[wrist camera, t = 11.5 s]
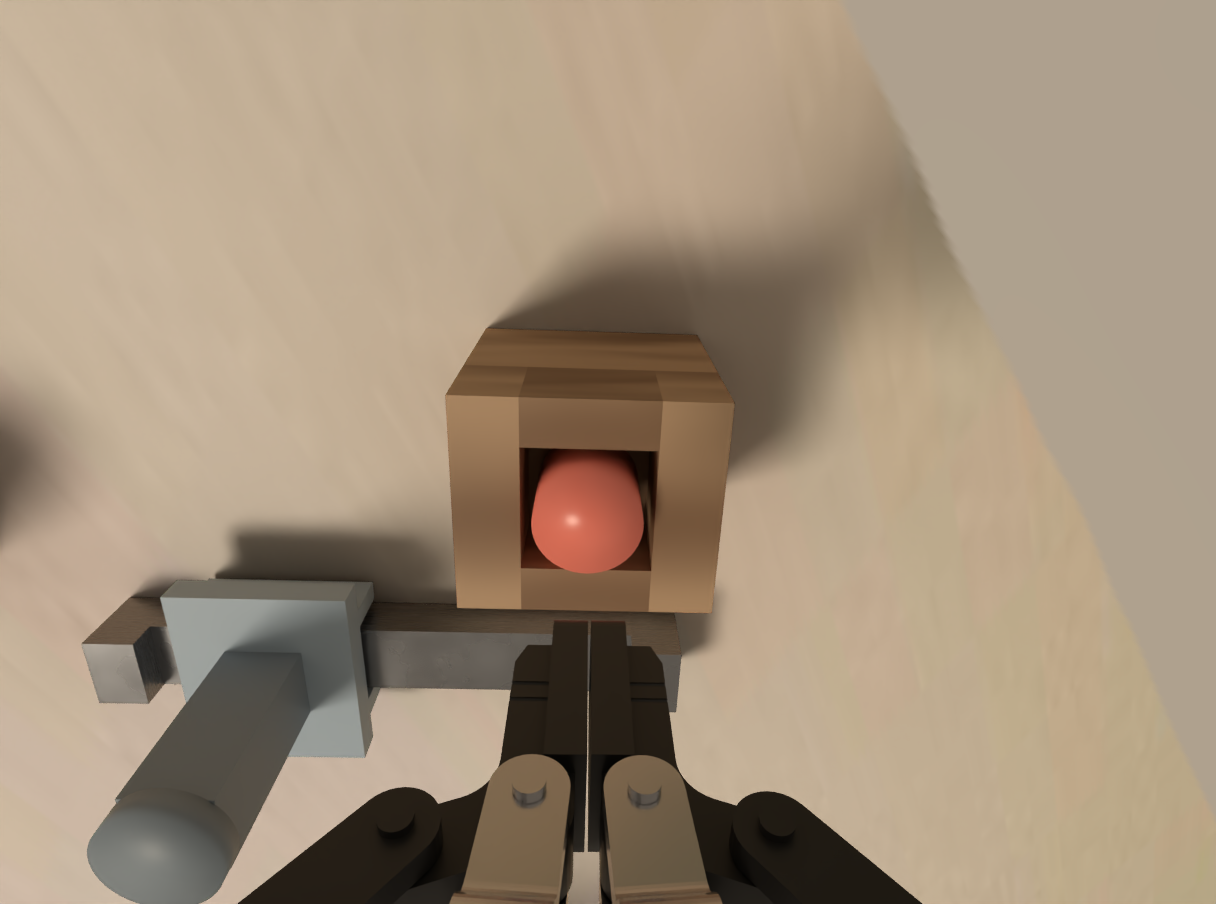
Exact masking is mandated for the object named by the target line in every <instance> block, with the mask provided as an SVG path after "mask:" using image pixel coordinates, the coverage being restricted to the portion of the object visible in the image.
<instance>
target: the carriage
mask: <svg viewBox="0 0 1216 904" xmlns="http://www.w3.org/2000/svg"><path fill="white" fill-rule="evenodd" d="M160 599H161V603H162V607H163V611H164V615H165V619H166V623H167V627H168V631H169V635H170V639H171V643H172V647H173V652H174V656H175V660H176V664H177V668H178V672H179V676H180V680H181V684H182V688H183V692H184V696H185V700H186V704H185V706H184V707H183V708H182V710H181V711H180V712H179V714H178V715H177V716H176V718H175V719H174V720H173V722H172V723H171V724H170V726H169V727H168V728H167V730H166V731H165V733H164V734H163V735H162V737H161V738H160V739H159V741H158V742H157V743H156V745H155V746H154V747H153V749H152V750H151V751H150V753H149V754H148V756H147V757H146V758H145V760H144V761H143V762H142V764H141V765H140V766H139V768H138V769H137V770H136V772H135V773H134V774H133V776H132V777H131V778H130V780H129V781H128V783H127V784H126V785H125V787H124V788H123V789H122V791H121V792H120V793H119V795H118V796H117V797H116V799H115V801H116V805H115V806H114V807H113V808H112V810H111V811H110V813H109V814H108V815H107V817H106V818H105V819H104V821H103V822H102V823H101V825H100V826H99V828H98V829H97V830H96V832H95V833H94V834H93V836H92V838H91V839H90V841H89V844H88V849H87V857H88V861H89V864H90V866H91V869H92V870H93V872H94V874H95V875H96V876H97V877H98V879H99V880H100V881H101V882H102V883H103V884H104V885H105V886H107V887H108V888H109V889H111V890H112V891H113V892H115V893H117V894H118V895H120V896H122V897H124V898H126V899H128V900H131V901H133V902H136V903H139V904H199V903H202V902H204V901H206V900H208V899H209V898H211V897H212V896H213V895H214V894H215V893H216V892H217V891H218V890H219V889H220V887H221V885H222V883H223V881H224V879H225V878H226V876H227V874H228V872H229V870H230V868H231V867H232V865H233V863H234V861H235V859H236V857H237V855H238V853H239V851H240V849H241V848H242V846H243V844H244V842H245V840H246V838H247V836H248V834H249V832H250V830H251V828H252V826H253V824H254V822H255V820H256V818H257V816H258V814H259V812H260V810H261V808H262V806H263V804H264V802H265V800H266V798H267V796H268V794H269V792H270V790H271V788H272V786H273V784H274V783H275V781H276V779H277V777H278V775H279V773H280V771H281V769H282V767H283V765H284V763H285V761H286V759H287V757H348V758H365V756H366V754H367V751H368V749H369V746H370V743H371V741H372V738H373V732H372V724H371V715H370V713H371V711H372V708H373V706H374V703H375V701H376V698H377V696H378V693H379V691H380V688H381V687H367V682H366V674H365V665H364V657H363V649H362V641H361V632H360V626H361V624H362V622H363V620H364V618H365V616H366V614H367V612H368V610H369V608H370V606H371V603H372V601H373V599H374V589H373V582H343V581H296V580H249V579H209V580H208V581H199V580H177V581H176V582H175V583H174V584H173V585H172V586H171V587H170V588H169V589H168V590H167V591H166V592H165V593H164V594H163V595H162V596H161V597H160Z"/></svg>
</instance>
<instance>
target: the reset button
mask: <svg viewBox="0 0 1216 904" xmlns="http://www.w3.org/2000/svg"><path fill="white" fill-rule="evenodd" d="M531 528H532V534H533V538H534V540H535V543H536V545H537V546H538V548H539V550H540V551H541V552H542V554H543V555H544V556H545V557H546V558H547V559H548V560H550V561H551V562H552V563H554V564H555V565H557V566H559V567H561V568H563V569H565V570H568V571H572V572H577V573H586V574H587V573H599V572H603V571H607V570H610V569H612V568H614V567H616V566H618V565H620V564H621V563H623V562H624V561H626V560H627V559H628V558H629V557H630V556H631V555H632V554H633V552H634V551H635V550H636V548H637V547H638V545H639V543H640V540H641V538H642V534H643V528H644V520H643V512H642V505H641V497H640V489H639V482H638V474H637V469H636V466H635V463H634V461H633V459H632V458H631V456H630V455H629V453H628V452H627V451H626V450H595V449H558V448H553V449H552V450H551V451H550V452H549V453H548V454H547V456H546V457H545V459H544V461H543V463H542V465H541V468H540V473H539V478H538V484H537V490H536V495H535V501H534V507H533V513H532V520H531Z"/></svg>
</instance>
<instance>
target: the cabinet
mask: <svg viewBox="0 0 1216 904" xmlns="http://www.w3.org/2000/svg"><path fill="white" fill-rule="evenodd" d="M445 396H446V415H447V433H448V451H449V469H450V487H451V505H452V523H453V541H454V559H455V577H456V596H457V608H482V609H532V610H581V611H630V612H679V613H712V605H713V596H714V587H715V578H716V569H717V560H718V551H719V542H720V533H721V524H722V515H723V506H724V497H725V488H726V479H727V470H728V461H729V452H730V443H731V434H732V425H733V416H734V407H735V403H734V401H733V399H732V397H731V396H730V394H729V392H728V390H727V388H726V386H725V385H724V383H723V381H722V379H721V377H720V376H719V374H718V372H717V370H716V368H715V367H714V365H713V363H712V361H711V359H710V358H709V356H708V354H707V352H706V350H705V349H704V347H703V345H702V343H701V341H700V339H699V338H698V336H697V335H683V334H651V333H620V332H588V331H557V330H526V329H494V328H486V330H485V331H484V333H483V335H482V336H481V338H480V339H479V341H478V343H477V344H476V346H475V348H474V349H473V351H472V353H471V354H470V356H469V357H468V359H467V361H466V362H465V364H464V366H463V367H462V369H461V370H460V372H459V374H458V375H457V377H456V379H455V380H454V382H453V384H452V385H451V387H450V388H449V390H448V392H447V393H446V395H445ZM553 448H558V449H595V450H626V451H627V452H628V453H629V455H630V456H631V458H632V459H633V461H634V463H635V466H636V469H637V474H638V482H639V489H640V497H641V505H642V512H643V520H644V528H643V534H642V538H641V540H640V543H639V545H638V547H637V548H636V550H635V551H634V552H633V554H632V555H631V556H630V557H629V558H628V559H627V560H626V561H624V562H623V563H621V564H620V565H618V566H616V567H614V568H612V569H610V570H607V571H603V572H599V573H587V574H586V573H577V572H572V571H568V570H565V569H563V568H561V567H559V566H557V565H555V564H554V563H552V562H551V561H550V560H548V559H547V558H546V557H545V556H544V555H543V554H542V552H541V551H540V550H539V548H538V546H537V545H536V543H535V540H534V538H533V534H532V528H531V520H532V513H533V507H534V501H535V495H536V490H537V484H538V478H539V473H540V468H541V465H542V463H543V461H544V459H545V457H546V456H547V454H548V453H549V452H550V451H551V450H552V449H553Z"/></svg>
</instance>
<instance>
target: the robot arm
mask: <svg viewBox="0 0 1216 904" xmlns="http://www.w3.org/2000/svg"><path fill="white" fill-rule="evenodd" d="M587 696H588V621H582V620H554V624H553V637H552V645H527V646H526V648H525V649H524V650H523V652H522V653H521V654H520V656H519V657H518V658H517V660H516V661H515V665H514V672H513V679H512V686H511V692H510V701H509V706H508V713H507V720H506V727H505V733H504V740H503V747H502V754H501V760H500V764H499V766H498V768H497V769H496V771H495V772H494V773H493V775H492V776H491V778H490V780H489V781H488V782H487V783H486V784H485V785H484V786H483V787H481V788H480V789H478V790H477V791H475V792H473V793H471V794H469V795H467V796H464V797H461V798H458V799H454V800H451V801H447V802H443V803H440V804H438V803H437V802H436V800H435V799H434V798H433V797H432V796H431V795H430V794H428V793H427V792H425V791H423V790H420V789H417V788H410V787H402V788H395V789H391V790H388V791H385V792H382V793H380V794H378V795H377V796H375V797H373V798H372V799H370V800H369V801H368V802H366V803H365V804H364V805H363V806H361V807H360V808H359V809H358V810H356V811H355V812H354V813H352V814H351V815H350V816H349V817H347V818H346V819H345V820H344V821H342V822H341V823H340V824H338V825H337V826H336V827H335V828H333V829H332V830H331V831H329V832H328V833H327V834H326V835H324V836H323V837H322V838H321V839H319V840H318V841H317V842H315V843H314V844H313V845H312V846H310V847H309V848H308V849H307V850H305V851H304V852H303V853H301V854H300V855H299V856H298V857H296V858H295V859H294V860H293V861H291V862H290V863H289V864H287V865H286V866H285V867H284V868H282V869H281V870H280V871H279V872H277V873H276V874H275V875H273V876H272V877H271V878H270V879H268V880H267V881H266V882H265V883H263V884H262V885H261V886H259V887H258V888H257V889H256V890H254V891H253V892H252V893H251V894H249V895H248V896H247V897H245V898H244V899H243V900H242V901H240V902H239V903H238V904H568V891H569V889H570V886H571V883H572V877H573V852H584V839H585V806H586V773H587ZM588 852H599V856H600V880H599V904H922V903H921V902H920V901H918V900H917V899H916V898H915V897H914V896H912V895H911V894H910V893H909V892H907V891H906V890H905V889H904V888H903V887H901V886H900V885H899V884H898V883H897V882H895V881H894V880H893V879H892V878H890V877H889V876H888V875H887V874H886V873H884V872H883V871H882V870H881V869H880V868H878V867H877V866H876V865H875V864H873V863H872V862H871V861H870V860H869V859H867V858H866V857H865V856H864V855H863V854H861V853H860V852H859V851H858V850H856V849H855V848H854V847H853V846H852V845H850V844H849V843H848V842H847V841H846V840H844V839H843V838H842V837H841V836H840V835H838V834H837V833H836V832H835V831H833V830H832V829H831V828H830V827H829V826H827V825H826V824H825V823H824V822H823V821H821V820H820V819H819V818H818V817H816V816H815V815H814V814H813V813H812V812H810V811H809V810H808V809H807V808H806V807H804V806H803V805H802V804H800V803H799V802H798V801H796V800H794V799H793V798H791V797H789V796H786V795H784V794H780V793H776V792H769V791H765V792H757V793H753V794H750V795H748V796H746V797H745V798H743V799H742V800H741V801H740V802H739V803H738V805H737V806H736V805H732V804H729V803H726V802H722V801H719V800H716V799H713V798H710V797H707V796H705V795H704V794H702V793H700V792H698V791H697V790H695V789H694V788H693V787H692V786H690V785H689V784H688V783H687V782H686V780H685V779H684V778H683V777H682V775H681V773H680V772H679V769H678V767H677V764H676V759H675V752H674V744H673V737H672V730H671V722H670V715H669V707H668V703H667V693H666V687H665V678H664V670H663V663H662V662H661V661H660V659H659V658H658V656H657V655H656V654H655V652H654V651H653V649H652V648H651V647H650V646H627V637H626V624H625V621H592V620H591V636H590V669H589V736H588Z"/></svg>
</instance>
